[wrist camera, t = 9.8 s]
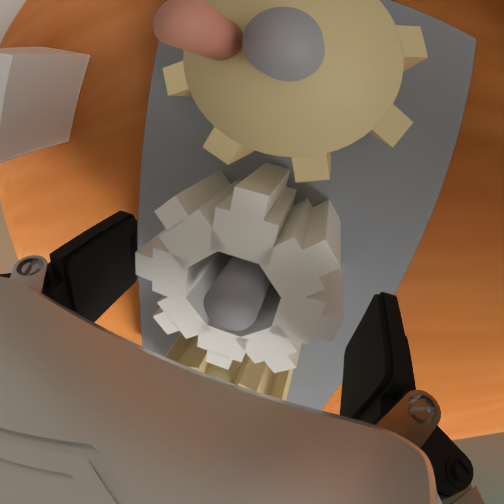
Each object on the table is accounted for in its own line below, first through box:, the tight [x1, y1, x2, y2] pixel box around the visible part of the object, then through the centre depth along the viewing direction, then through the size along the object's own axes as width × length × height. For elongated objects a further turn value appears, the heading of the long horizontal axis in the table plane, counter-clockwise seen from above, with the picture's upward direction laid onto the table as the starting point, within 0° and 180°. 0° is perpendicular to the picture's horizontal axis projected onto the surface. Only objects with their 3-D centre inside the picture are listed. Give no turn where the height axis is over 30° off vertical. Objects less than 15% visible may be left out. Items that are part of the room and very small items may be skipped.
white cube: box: [0, 47, 91, 163], centre depth 12 cm, size 6×6×6 cm
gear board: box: [138, 0, 477, 410], centre depth 11 cm, size 13×24×8 cm, turn 169°
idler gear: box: [135, 163, 343, 373], centre depth 12 cm, size 8×8×4 cm
